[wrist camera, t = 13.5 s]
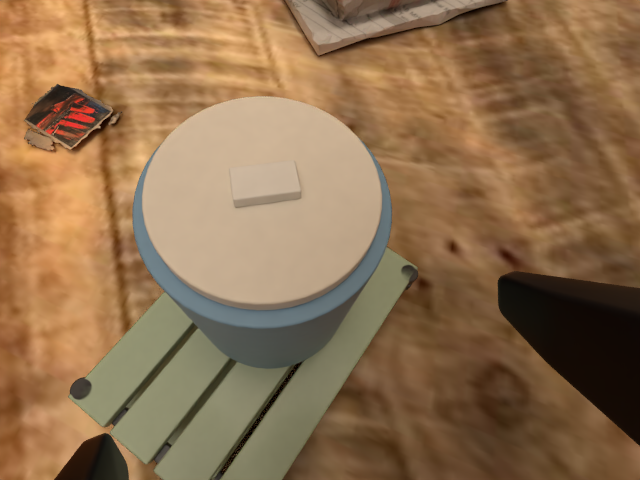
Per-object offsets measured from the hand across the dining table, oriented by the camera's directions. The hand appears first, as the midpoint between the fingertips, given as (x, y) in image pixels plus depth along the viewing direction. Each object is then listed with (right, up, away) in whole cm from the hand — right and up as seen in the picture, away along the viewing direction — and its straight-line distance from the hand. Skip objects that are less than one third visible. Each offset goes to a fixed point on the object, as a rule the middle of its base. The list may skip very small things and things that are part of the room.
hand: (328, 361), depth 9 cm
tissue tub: (-2, 0, +9) cm, 9 cm away
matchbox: (-16, +10, +17) cm, 26 cm away
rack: (-3, -3, +13) cm, 13 cm away
